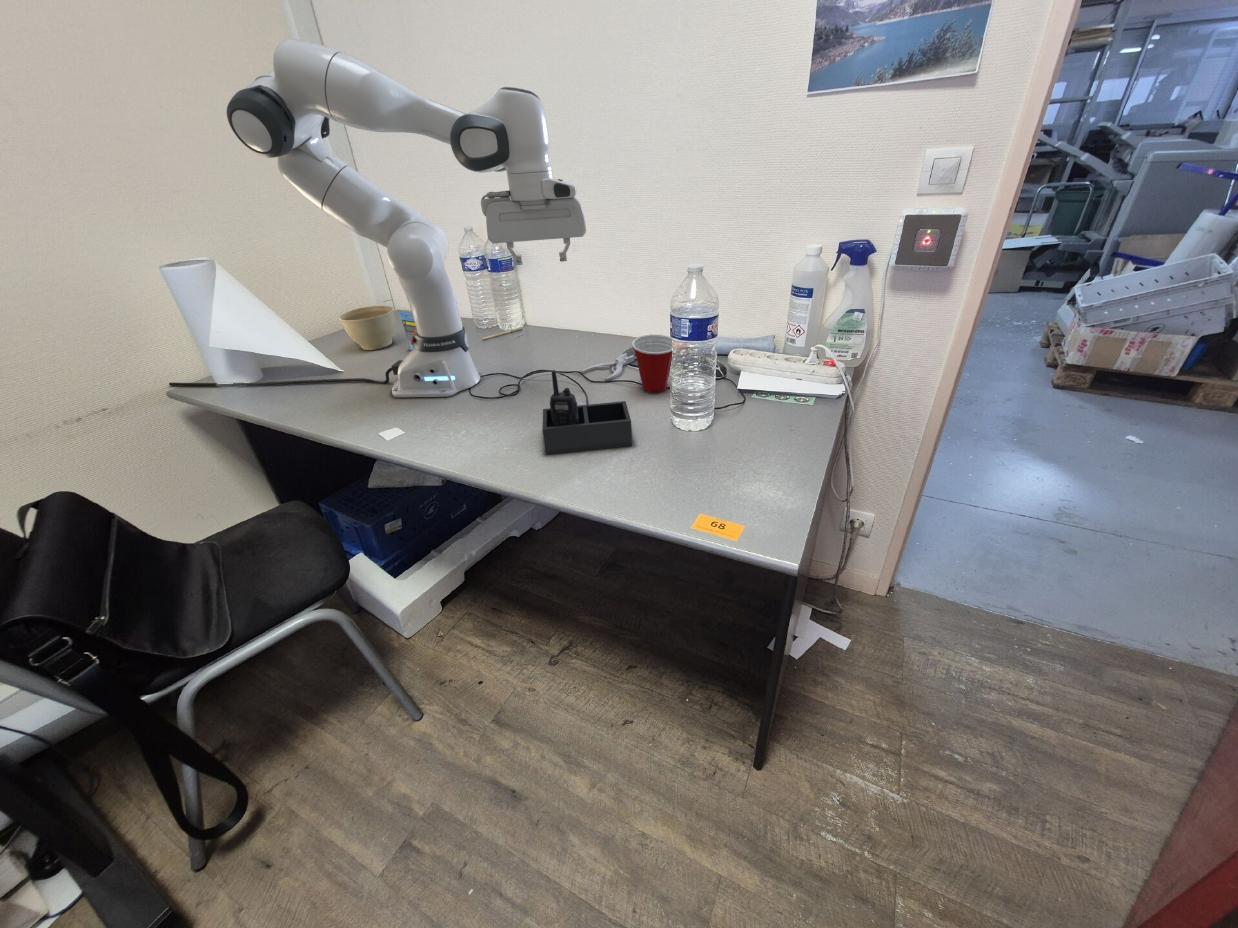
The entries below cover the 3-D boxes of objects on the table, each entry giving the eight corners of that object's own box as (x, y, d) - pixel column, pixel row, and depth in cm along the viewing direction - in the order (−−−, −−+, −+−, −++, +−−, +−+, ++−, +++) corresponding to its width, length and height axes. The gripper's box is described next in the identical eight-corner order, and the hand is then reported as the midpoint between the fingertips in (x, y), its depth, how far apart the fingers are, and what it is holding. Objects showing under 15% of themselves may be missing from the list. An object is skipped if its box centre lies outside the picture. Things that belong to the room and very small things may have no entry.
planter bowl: (384, 334, 174) (374, 303, 168) (412, 342, 165) (403, 308, 160) (340, 349, 163) (328, 315, 157) (367, 357, 155) (356, 322, 149)
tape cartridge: (438, 350, 157) (427, 310, 150) (428, 354, 154) (417, 314, 148) (419, 346, 161) (408, 307, 155) (409, 350, 159) (398, 311, 152)
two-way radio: (552, 441, 103) (542, 373, 94) (558, 431, 106) (549, 364, 98) (579, 442, 102) (571, 373, 94) (583, 432, 105) (576, 364, 97)
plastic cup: (647, 401, 118) (646, 353, 112) (625, 386, 126) (623, 339, 120) (685, 391, 122) (686, 343, 116) (662, 376, 130) (662, 331, 124)
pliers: (580, 367, 134) (616, 350, 144) (580, 373, 135) (617, 356, 145) (607, 375, 129) (643, 357, 138) (608, 381, 130) (643, 363, 139)
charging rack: (632, 446, 101) (631, 420, 98) (546, 454, 100) (542, 429, 97) (626, 425, 109) (625, 400, 106) (546, 433, 108) (543, 408, 105)
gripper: (476, 194, 96) (490, 269, 103) (583, 186, 97) (589, 262, 105) (480, 191, 101) (493, 263, 109) (581, 184, 103) (587, 256, 110)
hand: (541, 262), depth 107 cm, fingers open, 8 cm apart
